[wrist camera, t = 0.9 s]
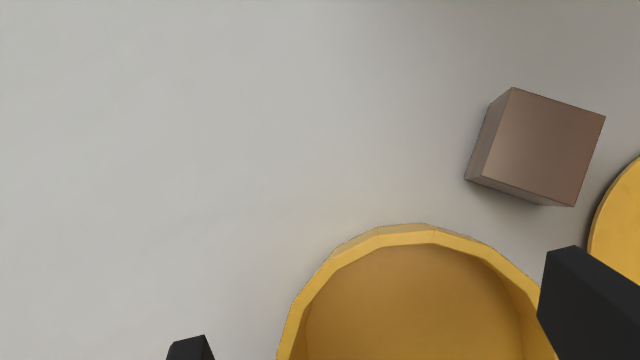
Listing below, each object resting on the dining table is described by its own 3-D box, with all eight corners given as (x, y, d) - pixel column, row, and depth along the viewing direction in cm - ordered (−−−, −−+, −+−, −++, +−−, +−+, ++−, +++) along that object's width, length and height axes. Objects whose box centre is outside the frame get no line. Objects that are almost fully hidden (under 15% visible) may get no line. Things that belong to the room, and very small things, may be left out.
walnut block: (569, 128, 26) (606, 116, 22) (542, 205, 26) (574, 207, 22) (489, 103, 26) (511, 86, 22) (463, 178, 27) (480, 175, 22)
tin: (581, 328, 26) (636, 363, 20) (428, 506, 26) (442, 587, 21) (394, 176, 27) (399, 172, 22) (251, 350, 27) (221, 388, 22)
